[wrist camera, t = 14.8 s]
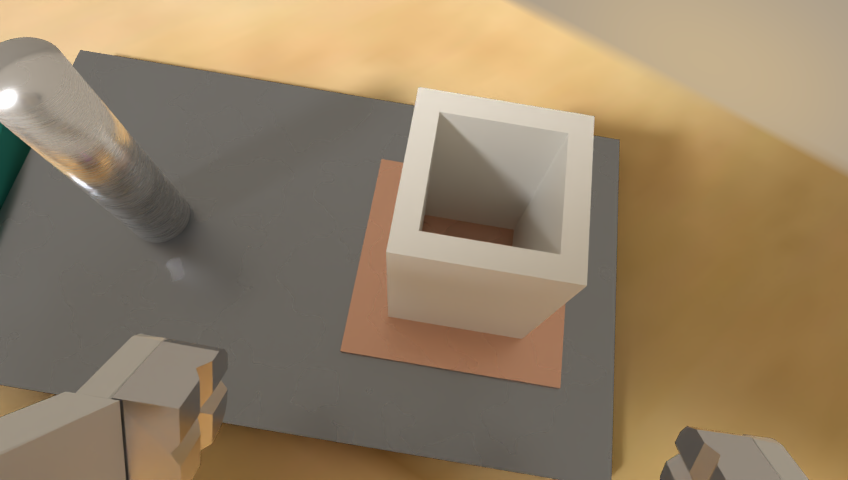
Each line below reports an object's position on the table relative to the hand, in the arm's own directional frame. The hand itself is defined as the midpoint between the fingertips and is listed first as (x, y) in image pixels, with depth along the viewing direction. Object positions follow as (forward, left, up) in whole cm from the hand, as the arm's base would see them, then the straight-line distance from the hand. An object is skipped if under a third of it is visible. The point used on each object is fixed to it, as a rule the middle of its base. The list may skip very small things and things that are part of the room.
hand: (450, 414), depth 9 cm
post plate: (-5, +6, -11) cm, 13 cm away
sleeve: (+1, +6, -9) cm, 11 cm away
